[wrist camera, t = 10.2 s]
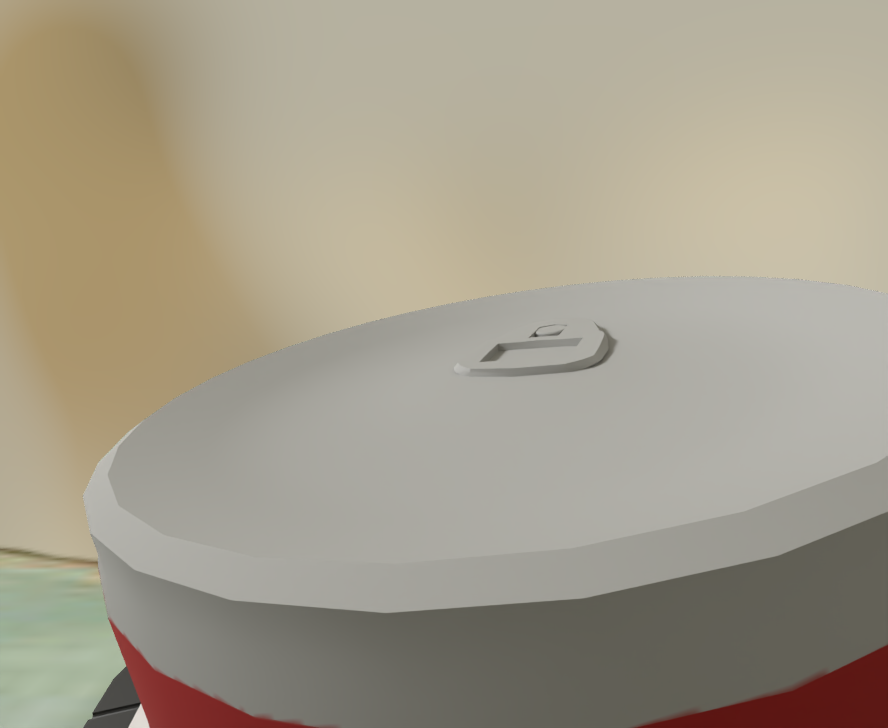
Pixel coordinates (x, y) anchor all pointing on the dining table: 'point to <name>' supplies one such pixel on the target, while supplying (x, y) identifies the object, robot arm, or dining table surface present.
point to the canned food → (520, 518)
